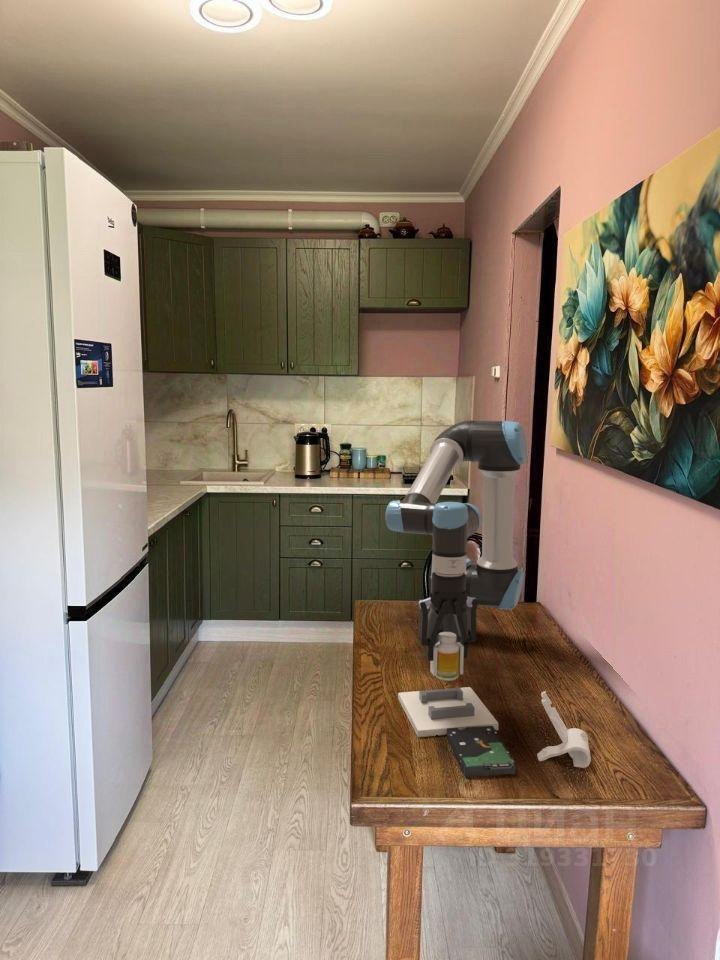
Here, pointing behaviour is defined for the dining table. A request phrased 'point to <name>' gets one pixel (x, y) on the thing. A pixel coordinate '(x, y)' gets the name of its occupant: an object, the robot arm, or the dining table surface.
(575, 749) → the plastic part
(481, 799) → the dining table surface
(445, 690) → the bottle holder
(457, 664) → the supplement bottle
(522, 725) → the dining table surface
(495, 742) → the disk drive
